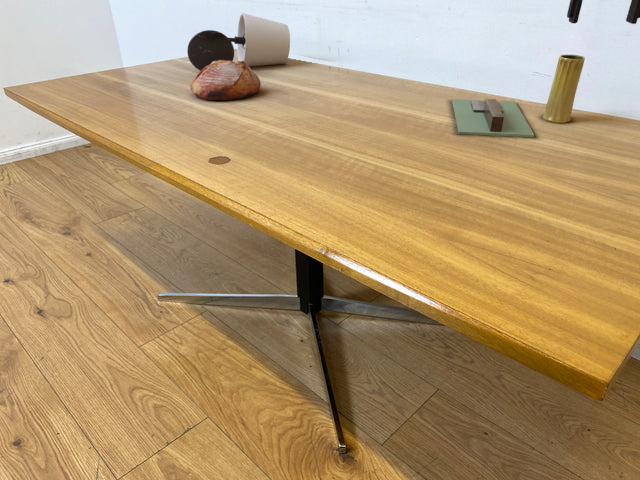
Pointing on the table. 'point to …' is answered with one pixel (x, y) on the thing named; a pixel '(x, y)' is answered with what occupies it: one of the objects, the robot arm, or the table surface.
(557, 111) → the vase
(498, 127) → the spatula
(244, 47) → the light fixture
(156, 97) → the table surface
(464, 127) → the mat
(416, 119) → the table surface
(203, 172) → the table surface
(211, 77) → the bread
